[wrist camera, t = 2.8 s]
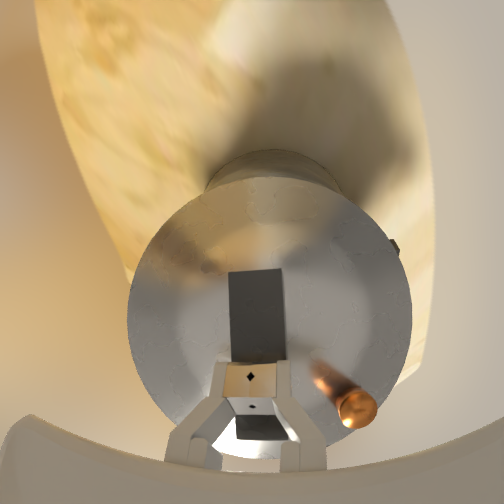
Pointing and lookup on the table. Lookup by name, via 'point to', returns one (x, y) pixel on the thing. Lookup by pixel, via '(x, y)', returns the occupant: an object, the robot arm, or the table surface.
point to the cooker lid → (271, 306)
